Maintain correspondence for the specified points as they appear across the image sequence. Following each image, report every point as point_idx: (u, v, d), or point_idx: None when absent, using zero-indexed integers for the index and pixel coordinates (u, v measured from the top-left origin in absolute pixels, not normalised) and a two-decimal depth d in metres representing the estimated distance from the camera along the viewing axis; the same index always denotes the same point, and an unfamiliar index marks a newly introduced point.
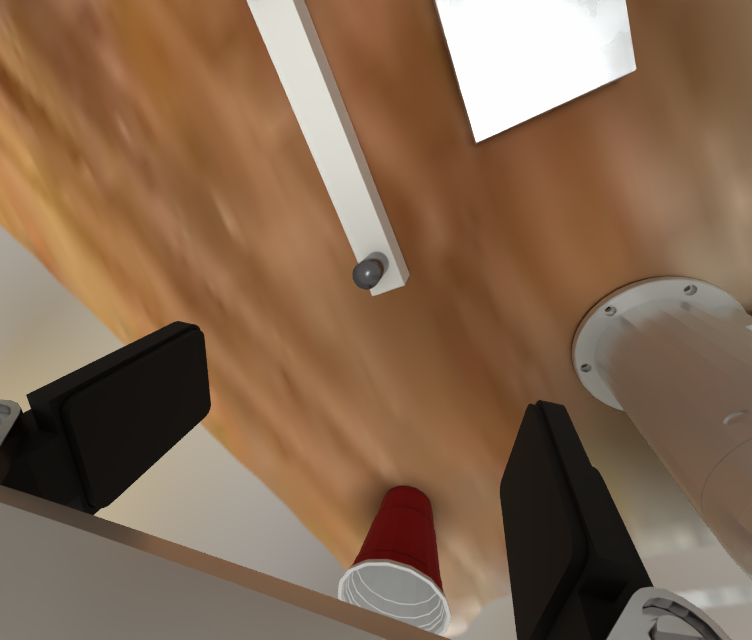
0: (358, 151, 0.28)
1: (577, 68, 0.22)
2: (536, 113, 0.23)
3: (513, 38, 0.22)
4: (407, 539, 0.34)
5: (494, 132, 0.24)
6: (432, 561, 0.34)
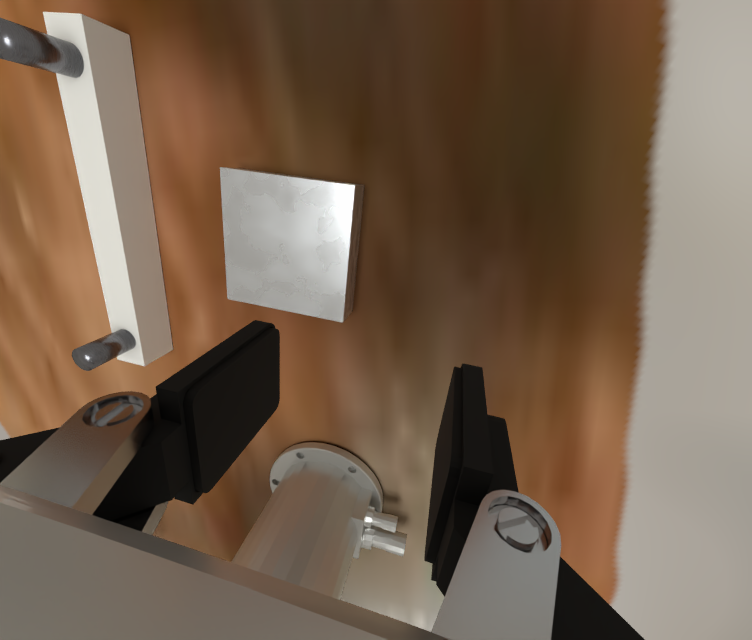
0: (145, 242, 0.30)
1: (307, 297, 0.27)
2: (273, 307, 0.28)
3: (269, 248, 0.26)
4: None
5: (241, 300, 0.28)
6: None
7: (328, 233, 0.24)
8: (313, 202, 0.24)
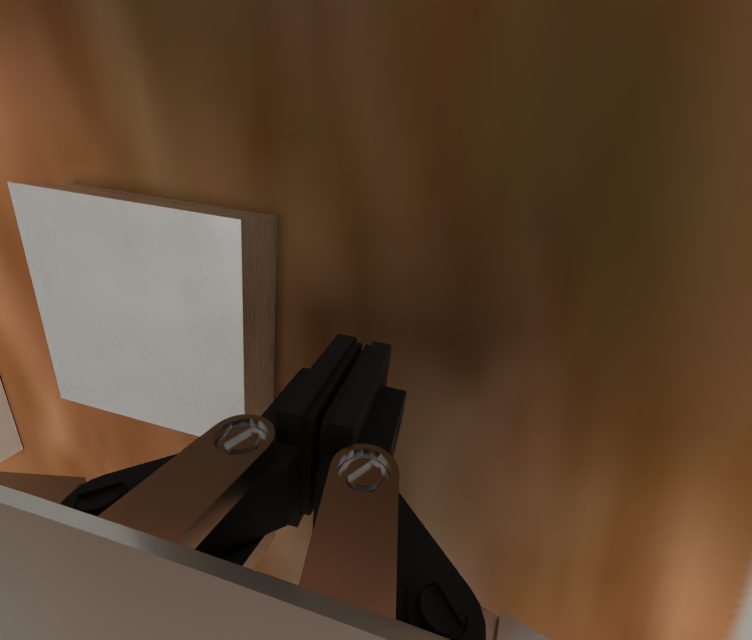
0: None
1: (182, 405, 0.15)
2: (132, 416, 0.16)
3: (111, 324, 0.15)
4: None
5: (82, 402, 0.17)
6: None
7: (203, 304, 0.13)
8: (172, 248, 0.13)
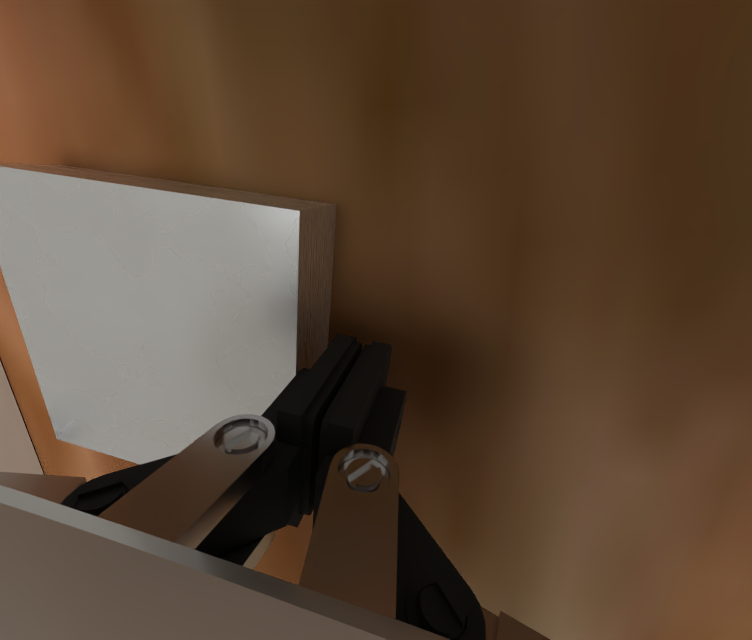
0: None
1: None
2: None
3: (116, 352, 0.11)
4: None
5: (83, 445, 0.13)
6: None
7: (241, 330, 0.10)
8: (196, 253, 0.09)
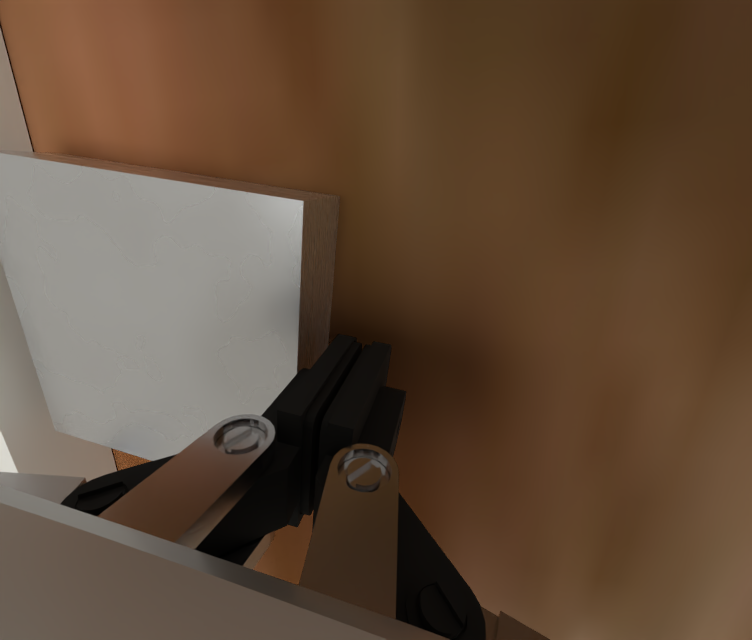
0: None
1: None
2: (145, 456, 0.13)
3: (116, 343, 0.11)
4: None
5: (82, 437, 0.13)
6: None
7: (242, 321, 0.10)
8: (198, 242, 0.09)
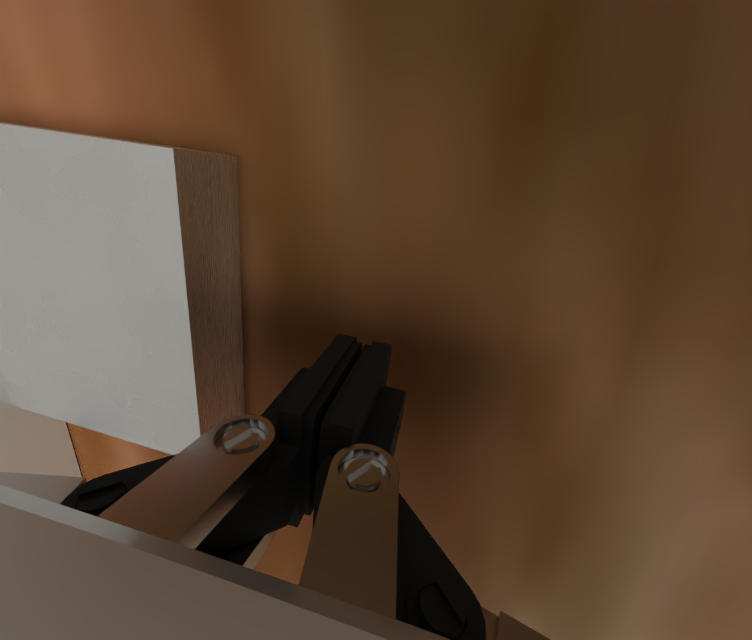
0: None
1: (122, 407, 0.12)
2: (64, 419, 0.13)
3: (23, 302, 0.11)
4: None
5: (4, 401, 0.13)
6: None
7: (134, 275, 0.10)
8: (84, 195, 0.09)
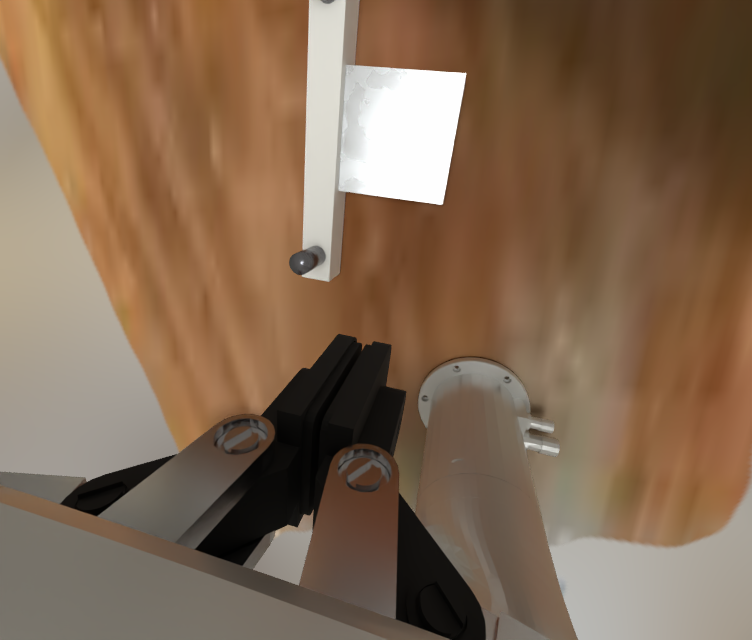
0: None
1: (412, 182, 0.31)
2: (379, 195, 0.32)
3: (382, 138, 0.30)
4: None
5: (351, 191, 0.33)
6: None
7: (437, 120, 0.29)
8: (427, 91, 0.28)
